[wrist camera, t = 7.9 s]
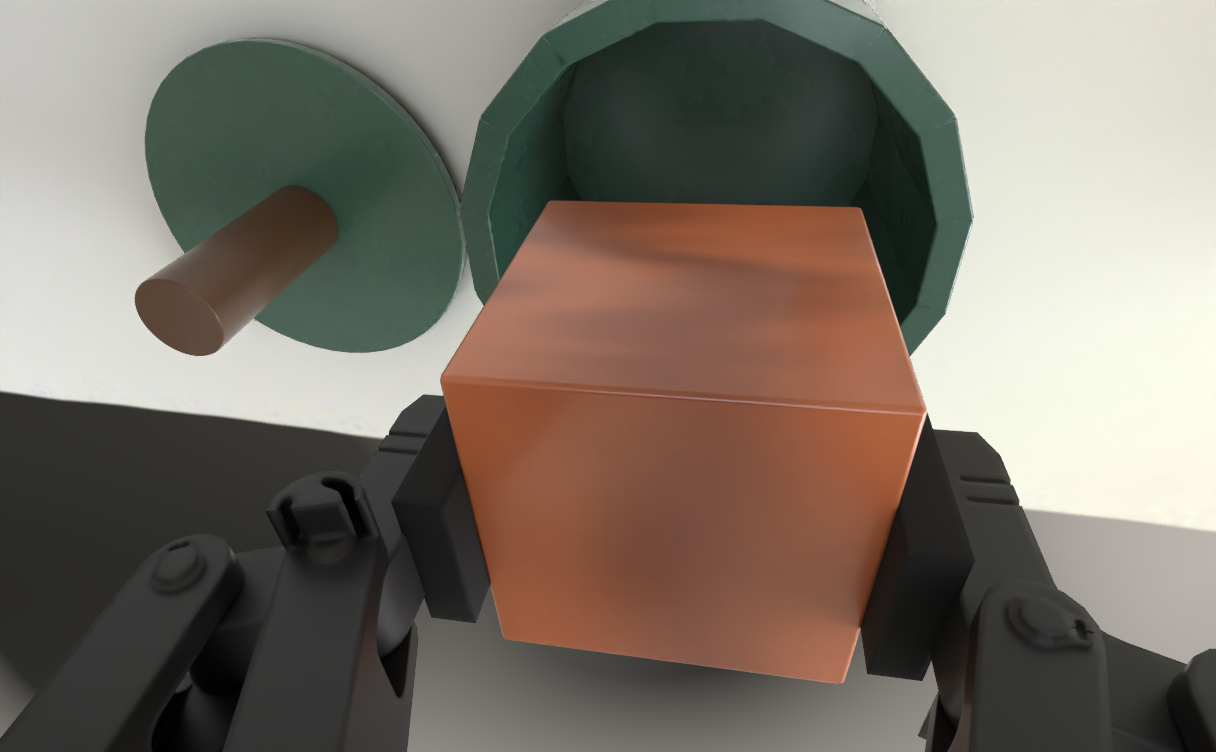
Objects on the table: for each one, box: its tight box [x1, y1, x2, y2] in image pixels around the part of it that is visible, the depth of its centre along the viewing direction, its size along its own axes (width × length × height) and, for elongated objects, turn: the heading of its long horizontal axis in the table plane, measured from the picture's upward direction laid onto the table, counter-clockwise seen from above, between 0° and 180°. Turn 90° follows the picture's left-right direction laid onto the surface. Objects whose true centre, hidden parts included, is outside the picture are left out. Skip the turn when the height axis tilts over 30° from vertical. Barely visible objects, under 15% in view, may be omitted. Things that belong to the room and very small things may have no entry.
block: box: [440, 201, 927, 684], centre depth 12 cm, size 6×6×6 cm
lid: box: [135, 38, 466, 356], centre depth 26 cm, size 14×14×9 cm
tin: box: [460, 0, 974, 357], centre depth 21 cm, size 13×13×10 cm
